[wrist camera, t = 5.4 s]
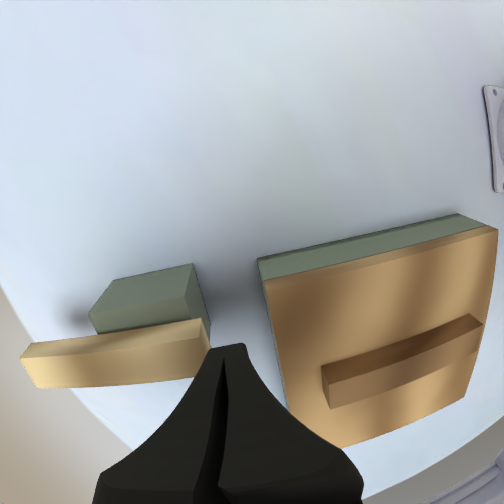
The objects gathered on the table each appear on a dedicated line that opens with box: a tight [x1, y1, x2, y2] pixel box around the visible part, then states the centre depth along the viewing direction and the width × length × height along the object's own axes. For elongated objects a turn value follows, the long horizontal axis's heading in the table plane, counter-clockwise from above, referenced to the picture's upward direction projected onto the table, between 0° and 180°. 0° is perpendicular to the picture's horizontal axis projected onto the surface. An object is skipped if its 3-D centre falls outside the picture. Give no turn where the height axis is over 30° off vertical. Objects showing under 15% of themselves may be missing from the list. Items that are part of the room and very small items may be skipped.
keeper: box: [88, 263, 211, 343], centre depth 16 cm, size 5×4×4 cm
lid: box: [264, 225, 498, 449], centre depth 15 cm, size 14×14×2 cm
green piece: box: [257, 214, 487, 411], centre depth 18 cm, size 14×14×3 cm
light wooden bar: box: [19, 318, 211, 388], centre depth 13 cm, size 10×2×2 cm, turn 101°
